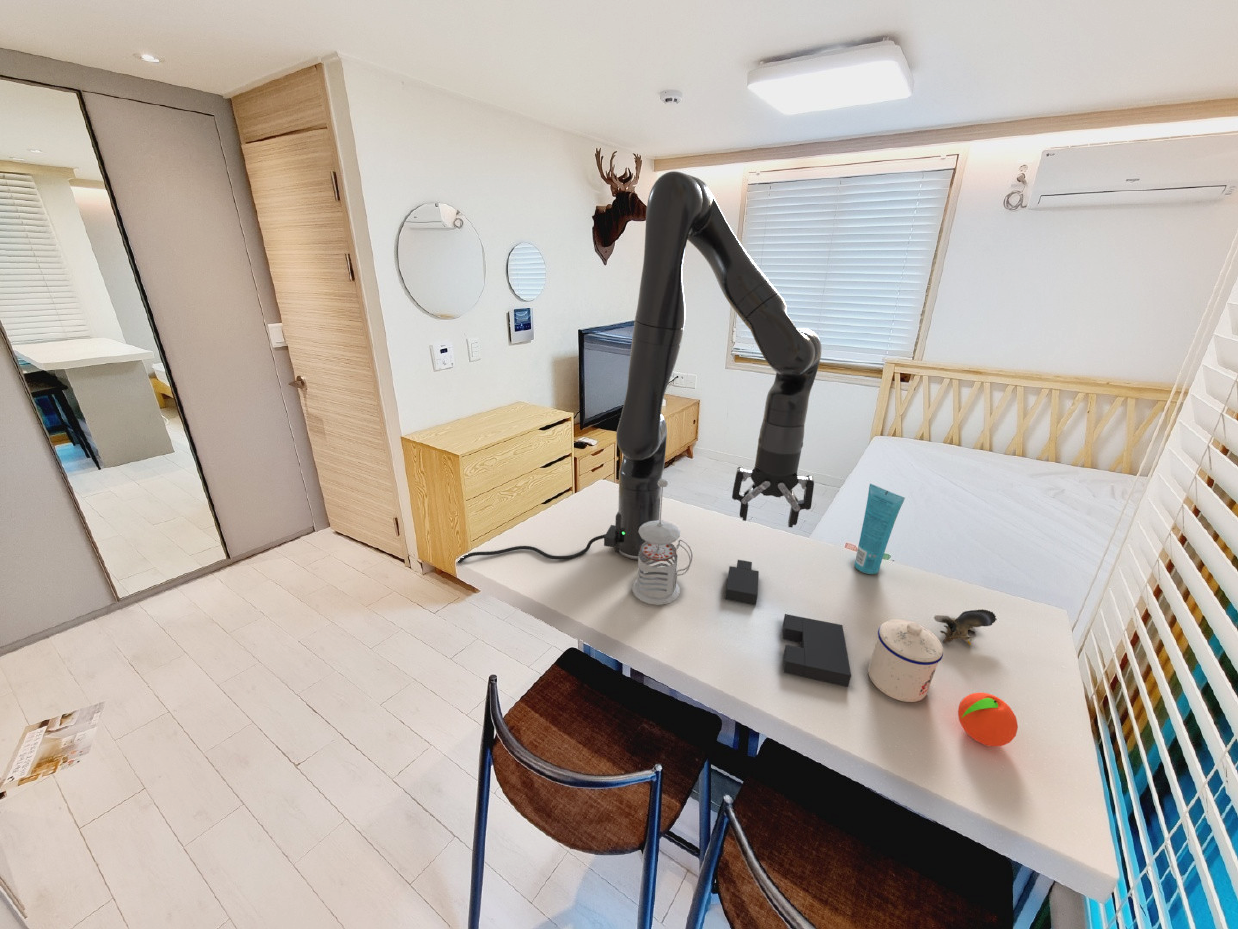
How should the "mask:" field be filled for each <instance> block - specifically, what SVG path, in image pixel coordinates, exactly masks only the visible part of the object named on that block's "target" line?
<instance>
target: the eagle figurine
mask: <svg viewBox="0 0 1238 929" xmlns="http://www.w3.org/2000/svg"><path fill="white" fill-rule="evenodd" d="M995 614H996V613H995V612H994V611H991V610H987V609H971V610H965V611H963V612H962V613H960V614H959V616H957V617H950V616H949V615H943V614H941V615H940V614H937V615H936V614H935V615H934V616H933V619H934V621H935V622H937V623H942V624H945V625H943V627H944V628H945V629H946V631H944V630H939V631H940V633H941V634H944V636H945V638H944V640H943V641H942V643H943V644H946V643H951V642H953V641H954V640H958V639H959V640H964V641H965V642H966V643H967V644H968V645H969V646H972V643H971V642H972V637H971V636H970V635H969V633H968V631H972V632H975V633H977V630H976V629H975V628H980V627H990V626H992V625H993V624H994V623H996V621H997V620H998V619H997V615H995Z"/></svg>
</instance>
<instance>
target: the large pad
mask: <svg viewBox="0 0 1238 929" xmlns="http://www.w3.org/2000/svg"><path fill="white" fill-rule="evenodd" d="M844 631H845V630H844V626H843V624H839V623H834V622H829V621H824V620H819V619H814V618H808V617H803V616H799V615H798V616H797V615H792V614H788V613H785V614H784V615H783V621H782V639H783V640H787V641H792V642H796V643H800V646H794V645H790V644H785V645H784V651H783V655H782V656H783V657H782V658H783V673H784V674H787V675H793V676H797V677H802V678H807V679H811V680H816V681H820V682H824V683H829V684H832V685H833V684H834V685H838V686H843V687H847V688H848V687H849V685H850V681H851V677H852V673H851V672H852V671H851V667H850V660H849V654H848V649H847V644H846V638H845V637H846V636H845V632H844Z"/></svg>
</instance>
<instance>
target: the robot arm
mask: <svg viewBox="0 0 1238 929" xmlns="http://www.w3.org/2000/svg"><path fill="white" fill-rule="evenodd" d="M648 194H649V195H648V198H647V204H646V210H645V211H646V213H645V229H644V230H645V232H644V249H643V250H644V252H643V264H642V270H641V277H640V283H639V284H640V285H639V289H638V290H639V291H638V292H639V293H638V300H637V306H636V311H635V316H634V321H633V322H634V323H633V330H632V335H631V336H632V337H631V345H630V346H631V347H630V354H629V355H630V356H629V364H628V375H627V385H626V386H627V387H626V392H625V398H624V402H623V405H622V410H621V414H620V418H619V422H618V425H617V429H616V433H615V434H616V435H615V440H616V444H617V447H618V450H619V451H620V453H621V454H622V460H621V463H620V466H619V471H618V504H617V505H618V507H617V508H618V511H617V512H616V514H615V520H614V522H615V525H614V524H610V526H609V527H608V529H607V531H606V533H604V534H601V535H597V536H594V537H593V538H591V539H590V540H589V541H588V542H587V545H586V547H585V548H584V549H582V550H581V551H579V552H577V553H574V554H569V555H552V554H549V553H547V552H544V550H541V549H540V548H537V547H534V546H532V545H531V546H530V545H517V546H511V547H507V548H503V549H497V550H491V551H473V552H470V553H467V554H468V555H466V554H464V555H463V556H462V557H464V558H461V557H460V558H459V559H460V560H459V559H458V560H459V561H458V560H457V561H458V563H457V564H461V563H462V562H464V561H465V560H466V559H468V558H471V557H476V556H494V555H495V556H496V555H501V554H505V553H509V552H513V551H518V550H526V551H527V550H528V551H533V552H535V553H537V554H539V555H540V556H543V557H545V558H547V559H550V560H560V561H561V560H571V559H576V558H578V557H580V556H582V555H584V554H586V553H587V552H589V551H590V549H591V546H592V545H593V543H595V542H596V541H599V540H603V547H608V548H614V553H618V554H620V555H621V556H622V557H624V558H626V559H629V560H634V561H635V560H636V561H638V557H639V551H640V548H641V545H642V544H643V543H644V542H646V541H645V540H644V539H642V538H641V536H640V534H639V532H638V531H639V528H640V527H641V526H642V525H643V524H644V523H647V522H649V521H657V520H660V507H661V491H662V487H660V486H658V481H659V480H660V479H663V475H664V469H665V463H666V452H667V441H668V440H667V438H668V427H667V422H666V420H665V418H664V415H663V414H662V408H663V404H664V398H665V394H666V391H667V388H668V385H669V383H670V381H671V378H672V375H673V372H674V370H675V366H676V363H677V360H678V357H679V353H680V348H681V345H682V341H683V335H684V329H685V325H686V324H685V323H686V300H685V293H684V284H683V264H684V257H685V252H686V247H687V243H688V242H690V244H691V245H693V246H694V248H696V249H697V251H699V252H700V254H701V255H702V256H703V258H704V259H705V261H706V262H707V263H708V265H709V267H710V268H711V270H712V272H713V274H714V277H715V279H716V281H717V283H718V285H719V287H720V289H721V292H722V294H723V296H724V297H725V298H726V300H727V302H728V304H729V305H730V306H731V308H732V309H733V310H734V311H735V313H736V314H737V315H738V318H740V320H741V321H742V322H743V323H744V324H745V326H746V327H747V328H748V329H749V330H750V332H751V334H752V335H751V336H752V337H753V339H754V342H755V343H756V345H757V347H758V349H759V352H760V353H761V355H762V358H764V360H765V361H766V362H767V365H768V366H769V367H770V368H771V369H772V370H773V371H774V372H775V377H774V380H773V383H772V386H771V387H770V389H768V392H767V395H766V399H765V405H764V410H763V411H764V412H763V419H762V423H761V426H760V429H759V436H758V441H757V442H758V443H757V448H756V456H755V463H754V466H753V467H754V468H753V469H752V470H750V469H744V467H743V466H738V467H737V468H736V473H735V478H734V482H733V487H732V495H731V499H732V500H734V501H738V502H740V506H739V518H742V521H744V522H747V517H748V512H749V506H750V505H749V504H750V503H749V502H750V501H752V500H753V499H755V498H757V496H759V495H760V494H761V495H762V496H765V497H770V496H772V497H775V498H779V499H780V498H781V497H784V498H785V499H786V501H787V502H788V504H789V505H790V510H789V515H788V519H787V520H788V521H787V527H788V528H793V526H797V524H798V519H799V515H800V512H801V511H802V510H807V511H808V510H811V509H812V504H813V495H814V490H815V489H814V487H815V480H814V476H813V475H811V474H808V475H806V476H799V475H798V469H799V464H800V460H801V455H802V450H803V447H804V438H805V425H806V420H807V414H808V409H809V401H810V400H809V399H810V395H811V391H812V388H813V386H814V383H815V379H816V376H817V374H818V370H819V367H820V363H821V358H822V342H821V340H820V338H819V336H818V335H817V333H815V331H813V330H811V329H809V328H803V327H801V328H798V327H796V325H795V323H794V322H793V321H792V319H791V318H790V316H789V315H788V313H787V310H788V309H787V308H788V307H787V304H786V301H785V299H784V298H783V297H782V296H781V294H780V292H778V290H777V289H776V287H774V285H773V284H772V282H771V281H770V280H769V279H768V277H766V275H765V274H764V272H763V271H762V270H761V269H760V267H759V266H758V265H757V264H756V262H755V260H753V259H752V257H751V256H750V255H749V253H748V252H747V250H746V249H745V248H744V247H743V245H742V244H741V242H740V241H739V239H738V238H737V236H736V234H735V233H734V231H733V230H732V228H731V227H730V225H729V223H728V222H727V220H726V218H725V216H724V214H723V211H722V210H721V208H720V206H719V204H718V203H717V202H718V201H717V200H716V198H715V196H714V194H713V193H712V191H711V189H710V188H709V186H708V185H707V184H706V183H705V181H703V180H702V179H700V178H699V177H696V176H693V175H690V174H687V173H684V172H681V171H667V172H665V173H664V174H662V175H660V176H659V177H658V179H656V180H655V182H654V184H653V185H652V187H651V189H650V192H649V193H648ZM748 478H750V479H751V481H752V484H751V485H750V486H749V487H748V488H747V489H746V490H745V491H744V492H742V491H741V487H742V482H746V481H747V480H748ZM798 485H800V487H801V489H803V490H804V492H803V499H798V498H797V495H796V494H795V492H794V490H793V489H795V487H797V486H798ZM644 558H646V557H645V556H644Z"/></svg>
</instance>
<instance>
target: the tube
mask: <svg viewBox="0 0 1238 929" xmlns="http://www.w3.org/2000/svg"><path fill="white" fill-rule="evenodd" d="M867 493H868V494H867V498H866V499H867V500H866V506H865V511H864V515H863V522H862V526H861V532H860V536H859V541H858V546H857V551H856V554H855V559H854V568H855V569H857V571H859V572H860V573H864V574H867V575H876V574H878V573H879V571H880V568H881V565H882V561H883V560H884V555H885V553H886V549H887V547H888V543H889V541H890V537H891V535H892V532H893V528H894V525H895V524H896V520H897V518H898V515H899V513H900V510H901V508H902V506H903V504H904V501H905V499H906V497H904V496H902V495H899V494H897V493H895V492H891V491H889V490H887V489H885V488H882V487H881V486H878V485H875V484H872V483H869V486H868V492H867Z"/></svg>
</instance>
